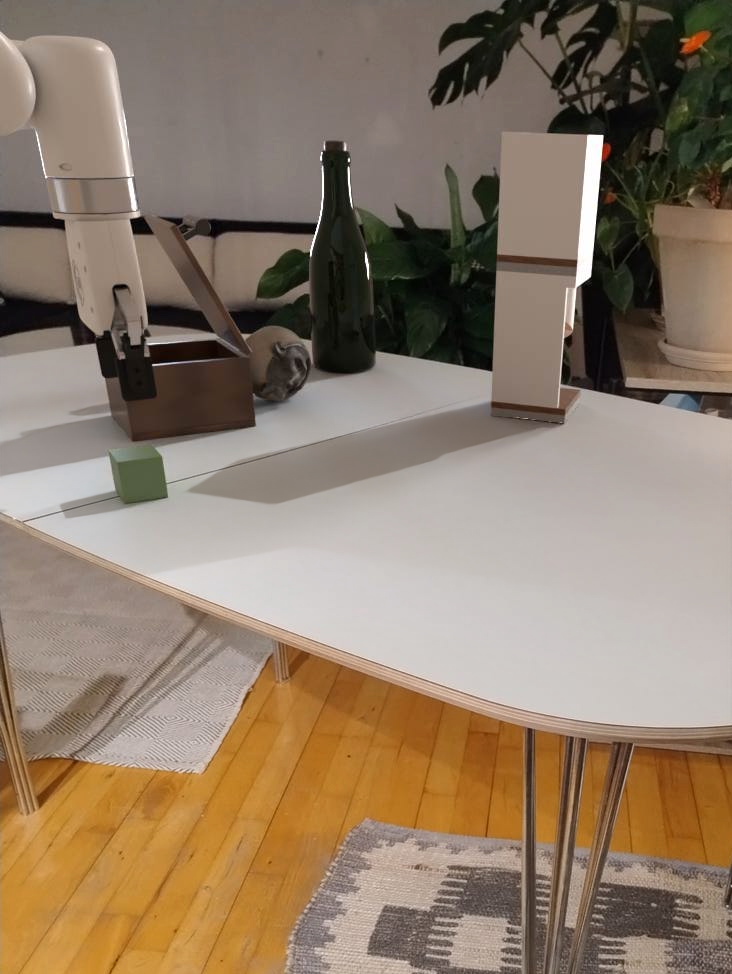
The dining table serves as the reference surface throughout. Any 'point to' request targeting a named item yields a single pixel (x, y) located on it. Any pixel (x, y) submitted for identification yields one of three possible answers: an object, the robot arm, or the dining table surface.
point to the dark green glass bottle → (340, 275)
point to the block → (138, 473)
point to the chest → (189, 391)
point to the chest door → (196, 274)
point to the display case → (541, 267)
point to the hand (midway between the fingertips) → (128, 387)
